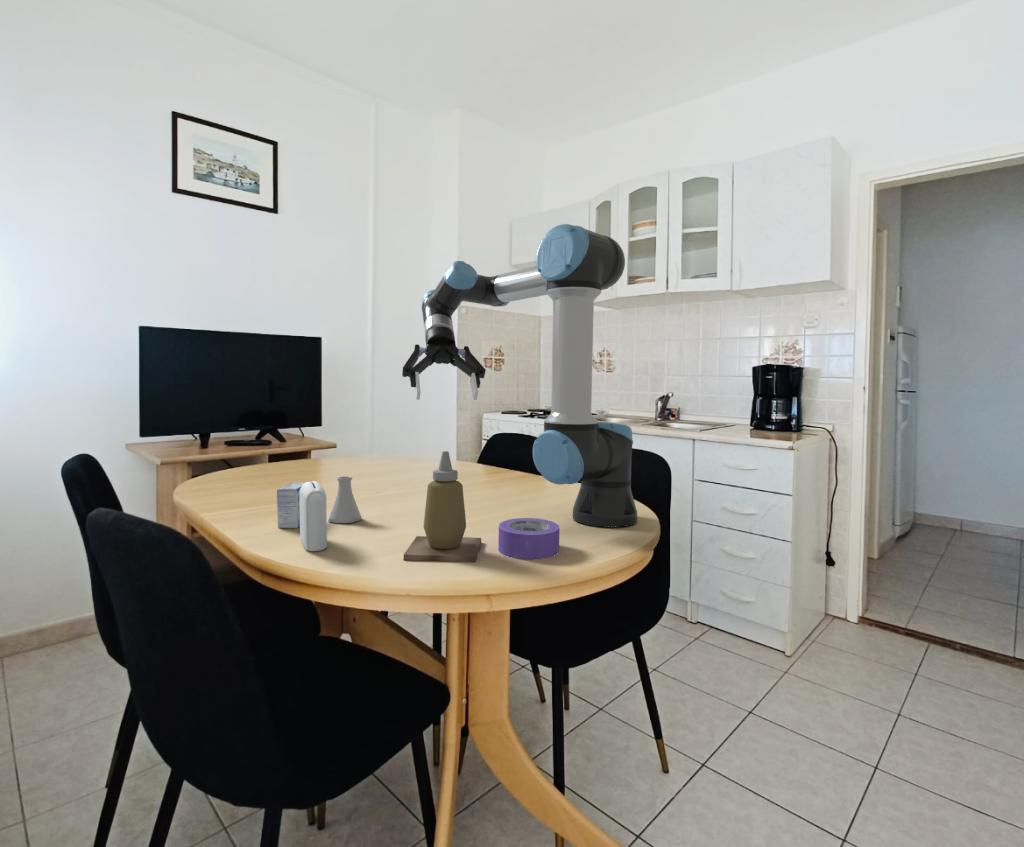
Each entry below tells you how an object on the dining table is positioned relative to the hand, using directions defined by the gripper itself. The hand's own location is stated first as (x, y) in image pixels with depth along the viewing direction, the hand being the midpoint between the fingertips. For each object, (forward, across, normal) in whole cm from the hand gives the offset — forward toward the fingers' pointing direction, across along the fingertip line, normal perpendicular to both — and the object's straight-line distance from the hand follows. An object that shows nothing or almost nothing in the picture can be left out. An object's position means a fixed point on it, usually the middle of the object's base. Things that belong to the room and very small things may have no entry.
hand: (447, 396), depth 132 cm
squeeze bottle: (+39, +4, 0) cm, 39 cm away
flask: (+21, +23, -20) cm, 37 cm away
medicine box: (+21, +34, -19) cm, 45 cm away
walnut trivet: (+40, +4, 0) cm, 40 cm away
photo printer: (+34, +29, -7) cm, 45 cm away
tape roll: (+42, -12, +1) cm, 43 cm away
